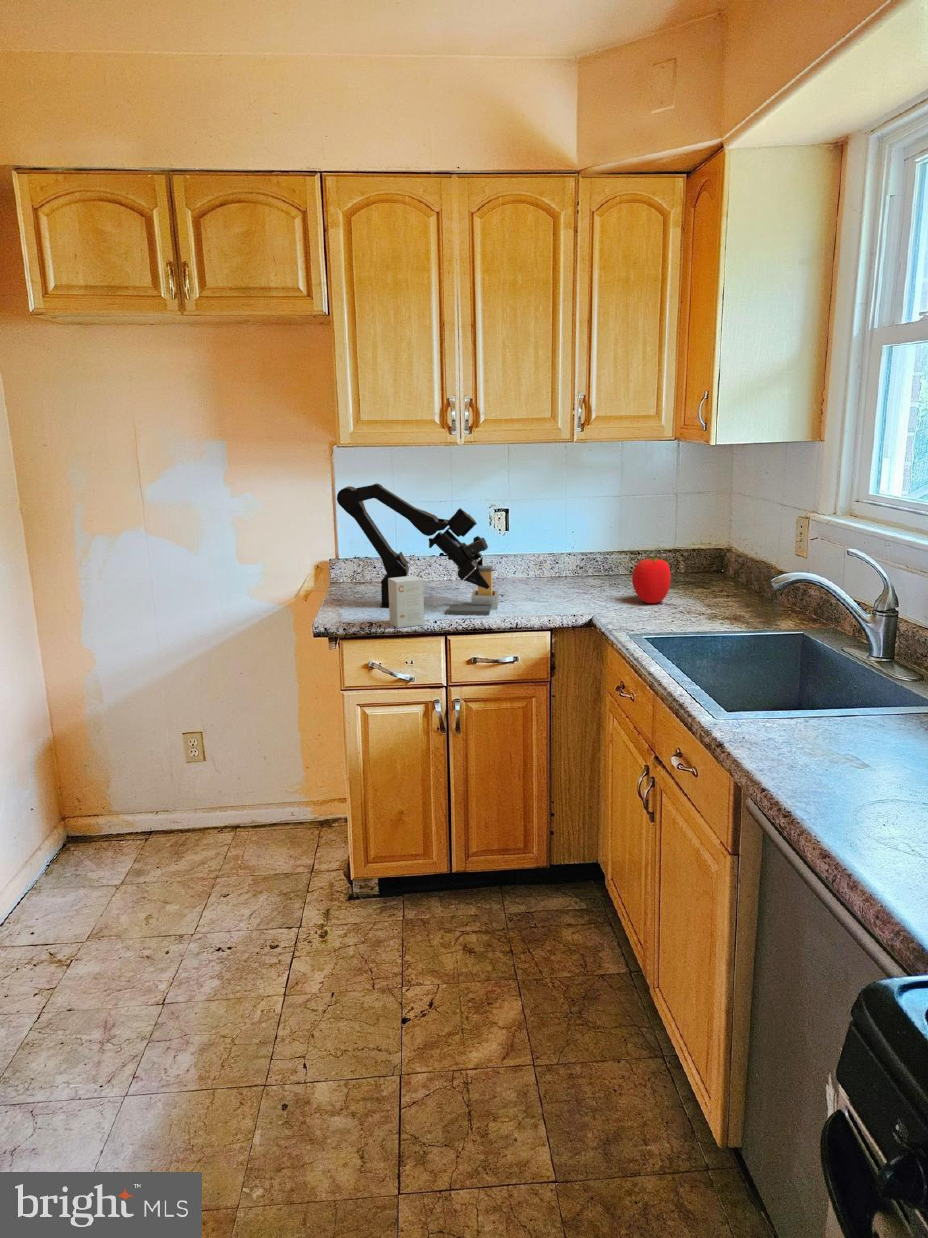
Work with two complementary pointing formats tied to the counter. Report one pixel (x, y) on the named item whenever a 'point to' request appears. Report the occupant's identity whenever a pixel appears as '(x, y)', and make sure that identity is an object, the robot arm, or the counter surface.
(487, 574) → the grey capped orange post
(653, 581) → the tomato
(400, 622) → the small box
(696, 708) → the counter surface
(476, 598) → the socket
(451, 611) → the rubber mat
